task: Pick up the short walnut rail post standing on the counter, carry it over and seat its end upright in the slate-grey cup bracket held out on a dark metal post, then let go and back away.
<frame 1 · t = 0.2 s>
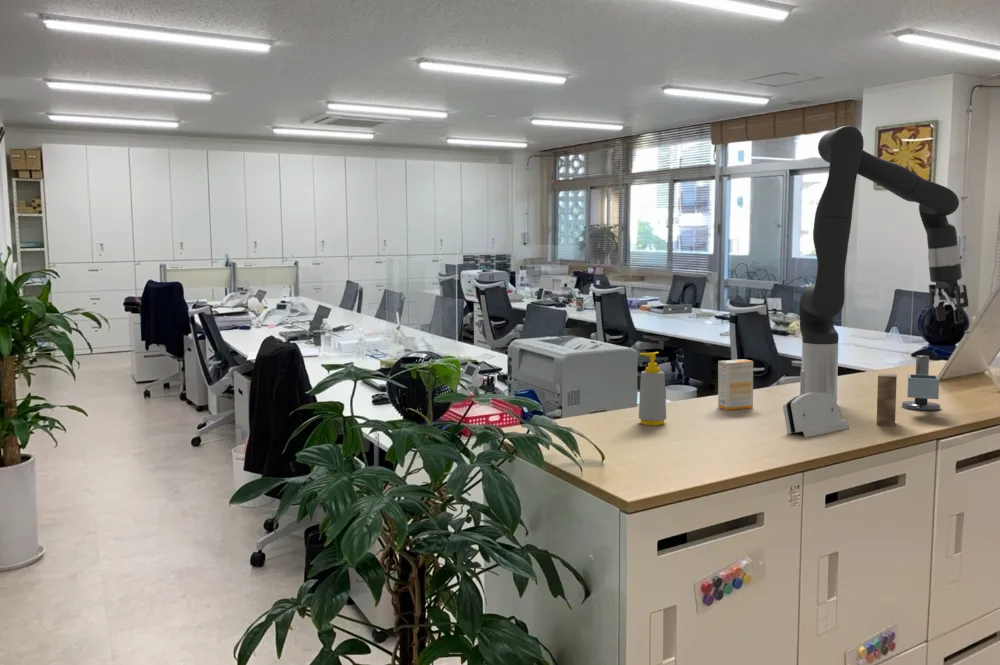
hand: (950, 321, 210), 22 cm above the cabinet, tool pointing down, fingers open, 8 cm apart
rail post: (885, 423, 187), on the cabinet
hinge: (813, 431, 181), on the cabinet
supplement box: (735, 408, 209), on the cabinet
cup bracket: (921, 415, 195), on the cabinet
soap bottle: (652, 423, 191), on the cabinet
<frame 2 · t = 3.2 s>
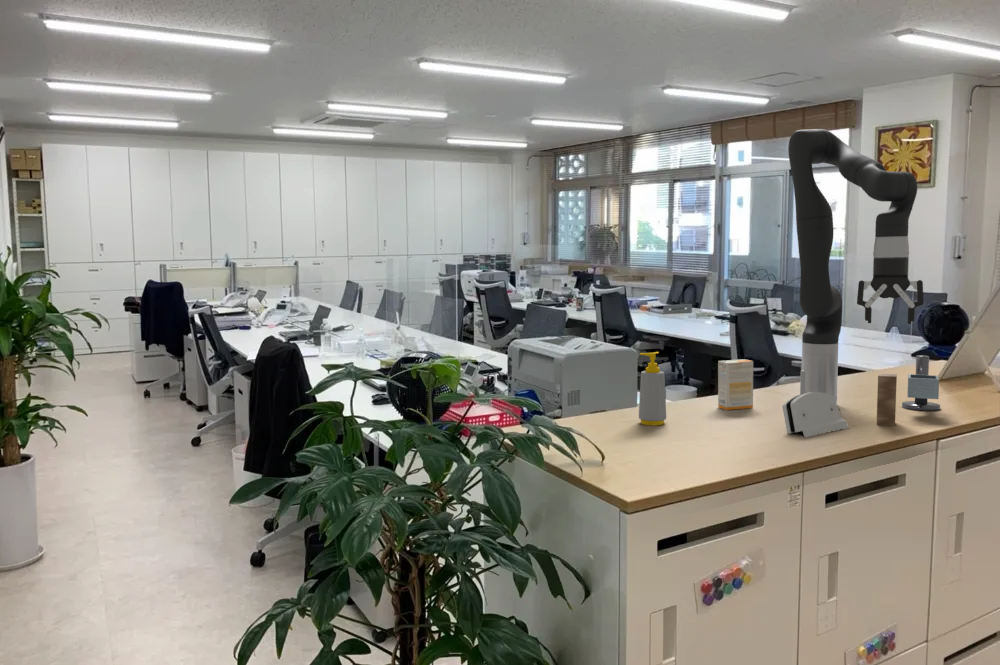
hand: (889, 323, 184), 25 cm above the cabinet, tool pointing down, fingers open, 8 cm apart
nothing on the cabinet moved.
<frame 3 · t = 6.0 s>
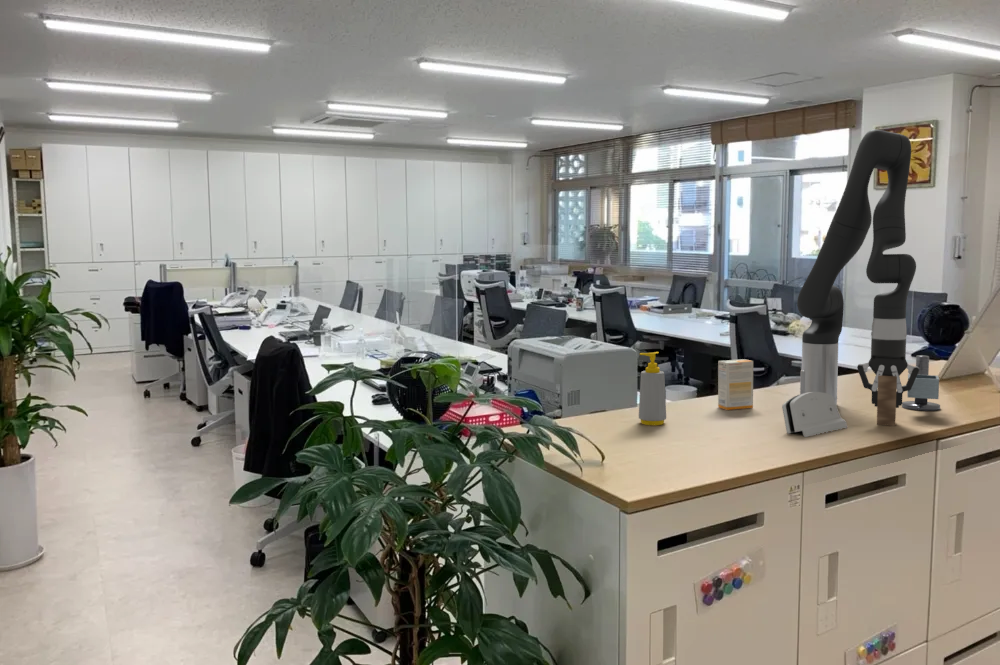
hand: (886, 406, 186), 4 cm above the cabinet, tool pointing down, fingers closed on rail post, 4 cm apart
rail post: (886, 423, 187), on the cabinet, touching gripper
everything else where it was.
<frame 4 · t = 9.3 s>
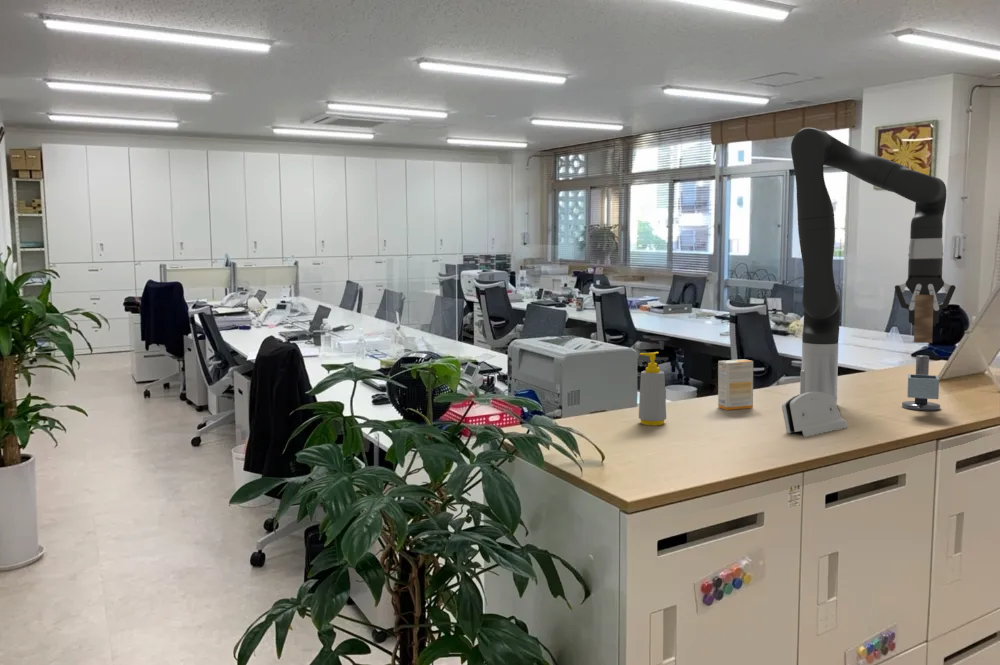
hand: (923, 324, 192), 23 cm above the cabinet, tool pointing down, fingers closed on rail post, 4 cm apart
rail post: (922, 341, 193), point 19 cm above the cabinet, touching gripper
everything else where it was.
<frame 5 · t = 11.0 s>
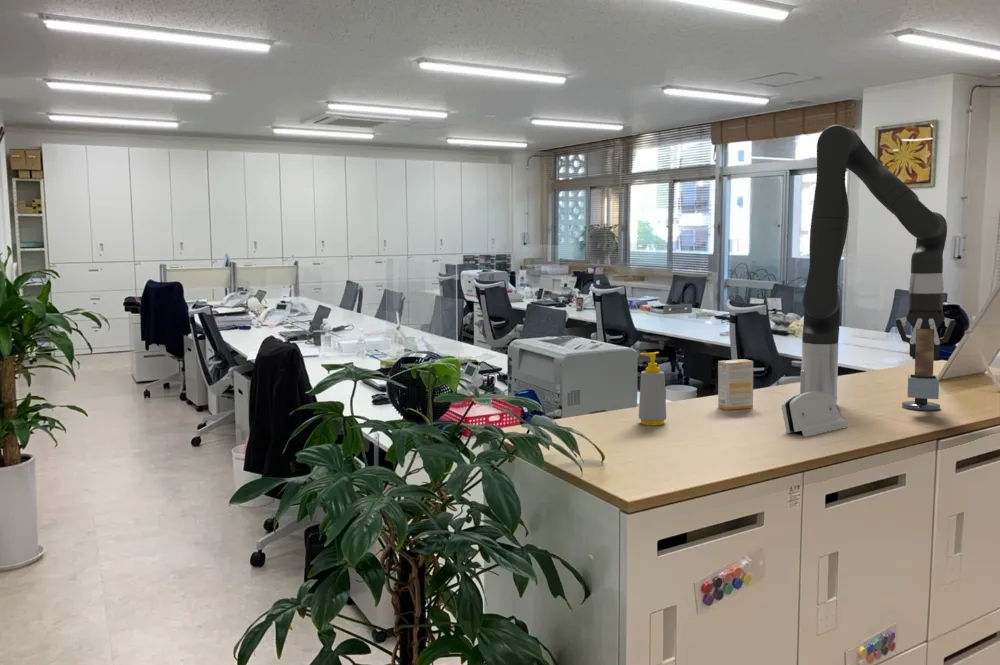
hand: (924, 358, 194), 15 cm above the cabinet, tool pointing down, fingers closed on rail post, 4 cm apart
rail post: (923, 375, 194), point 10 cm above the cabinet, touching gripper
everything else where it was.
when the fingers open (12 cm above the cabinet, at t = 12.4 s): rail post drops 1 cm, resting on cup bracket.
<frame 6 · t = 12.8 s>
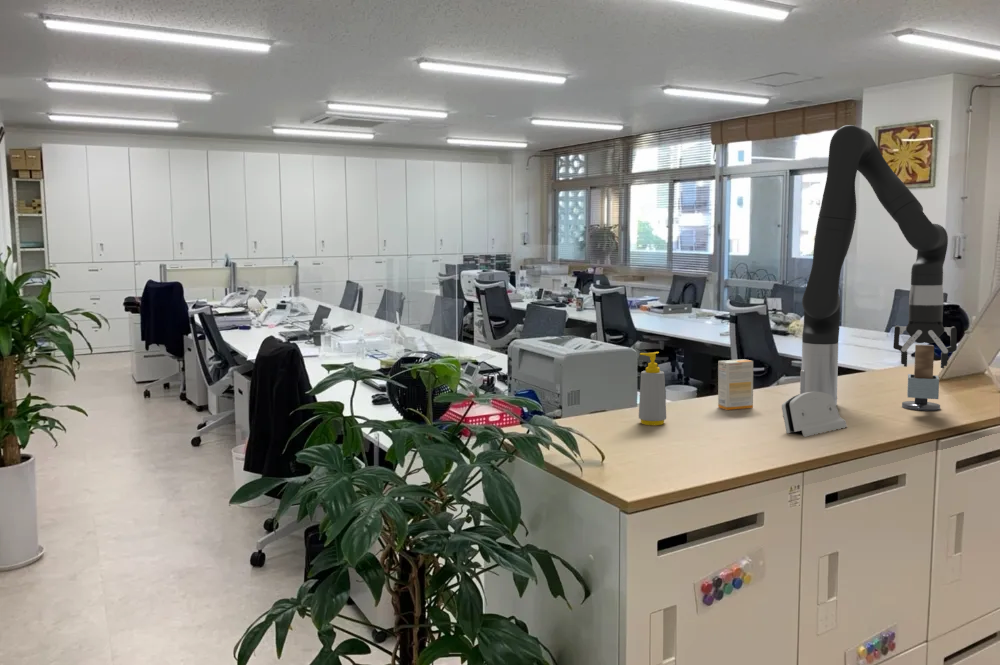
hand: (923, 367, 194), 13 cm above the cabinet, tool pointing down, fingers open, 8 cm apart
rail post: (922, 392, 195), point 6 cm above the cabinet, touching cup bracket
everything else where it was.
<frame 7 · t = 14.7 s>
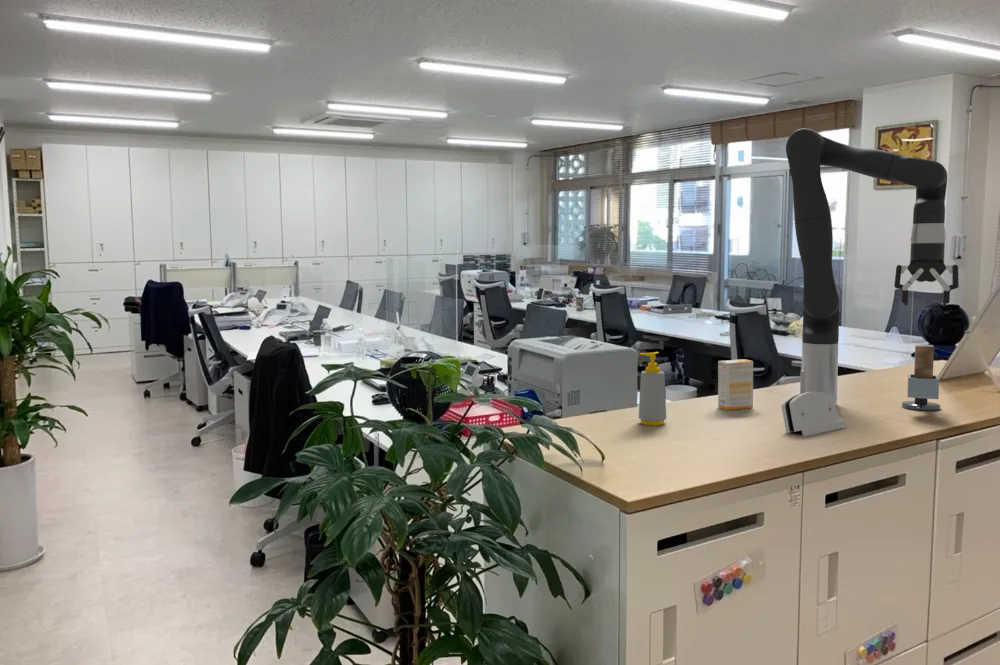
hand: (924, 305, 195), 28 cm above the cabinet, tool pointing down, fingers open, 8 cm apart
nothing on the cabinet moved.
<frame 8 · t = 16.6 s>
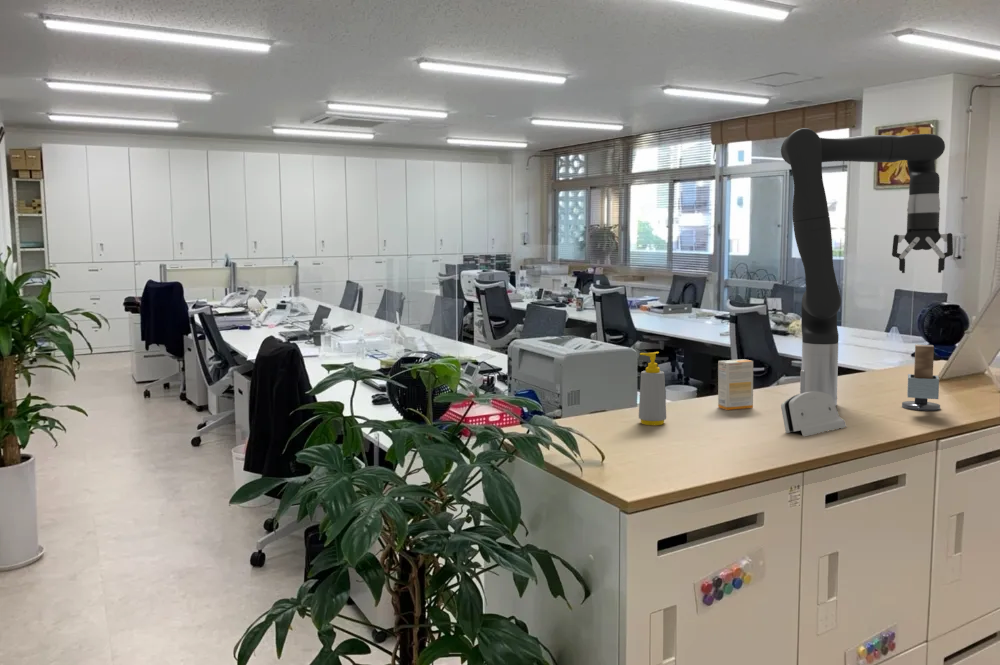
hand: (921, 272, 205), 36 cm above the cabinet, tool pointing down, fingers open, 8 cm apart
at the end: rail post 0.0 cm off-centre on the cup bracket, point 6.0 cm above the cup bracket's base; rail post tilted 0°; the gripper is holding nothing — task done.
